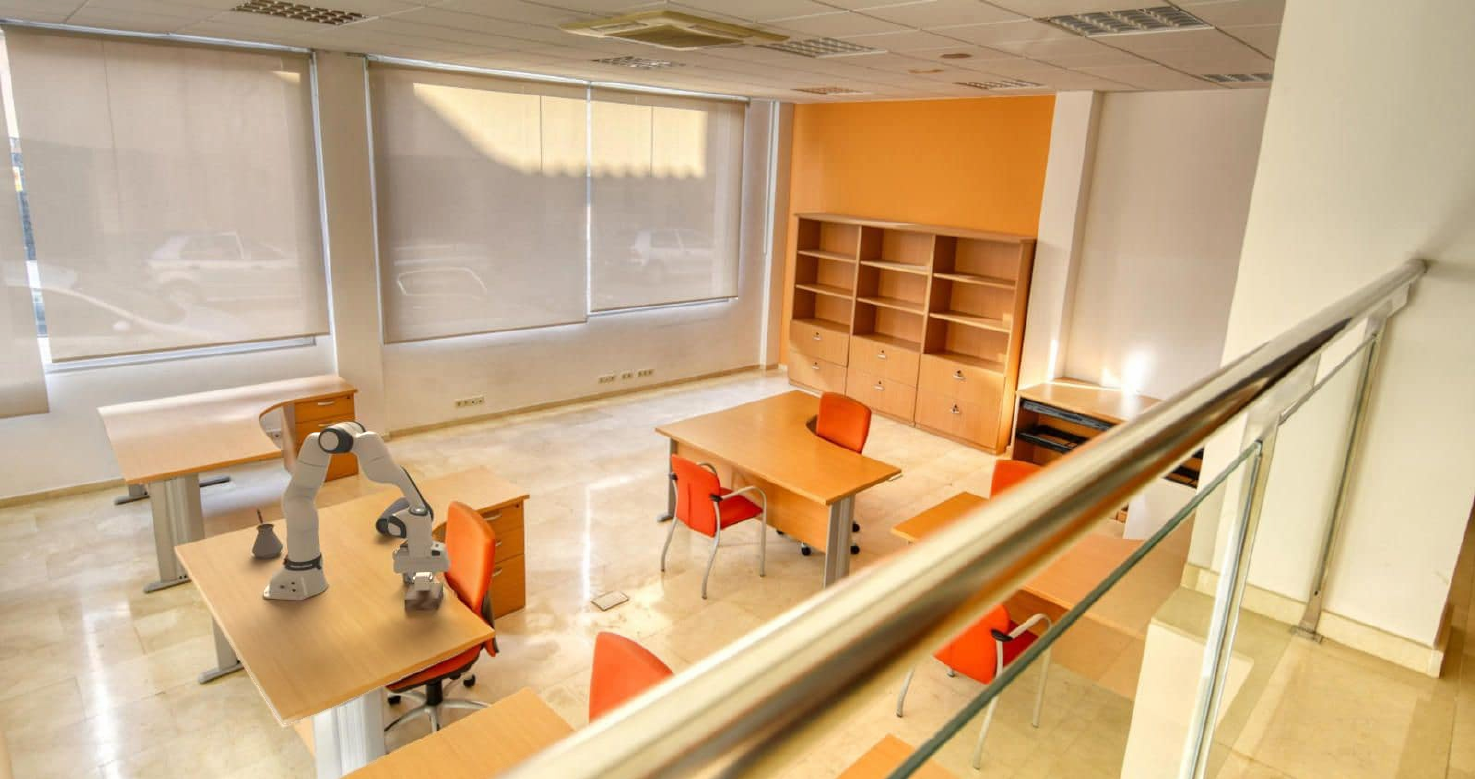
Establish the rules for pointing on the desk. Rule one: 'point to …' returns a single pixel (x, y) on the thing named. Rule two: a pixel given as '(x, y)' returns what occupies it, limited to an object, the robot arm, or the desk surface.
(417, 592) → the walnut block
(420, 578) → the white cube
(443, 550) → the robot arm
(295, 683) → the desk surface
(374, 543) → the desk surface
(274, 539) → the coffee pot
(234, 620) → the desk surface
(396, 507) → the bluetooth speaker
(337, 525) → the desk surface
